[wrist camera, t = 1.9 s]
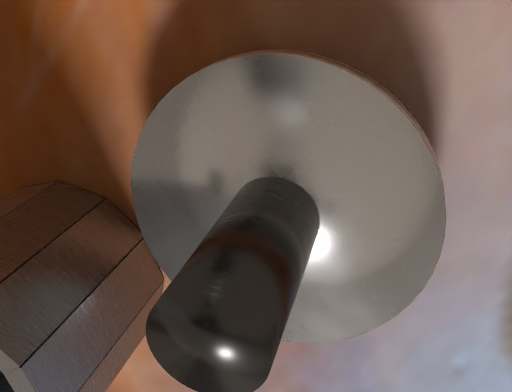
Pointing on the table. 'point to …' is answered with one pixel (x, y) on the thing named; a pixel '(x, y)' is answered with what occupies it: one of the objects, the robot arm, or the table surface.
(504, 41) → the table surface
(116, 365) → the pot
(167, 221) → the lid
